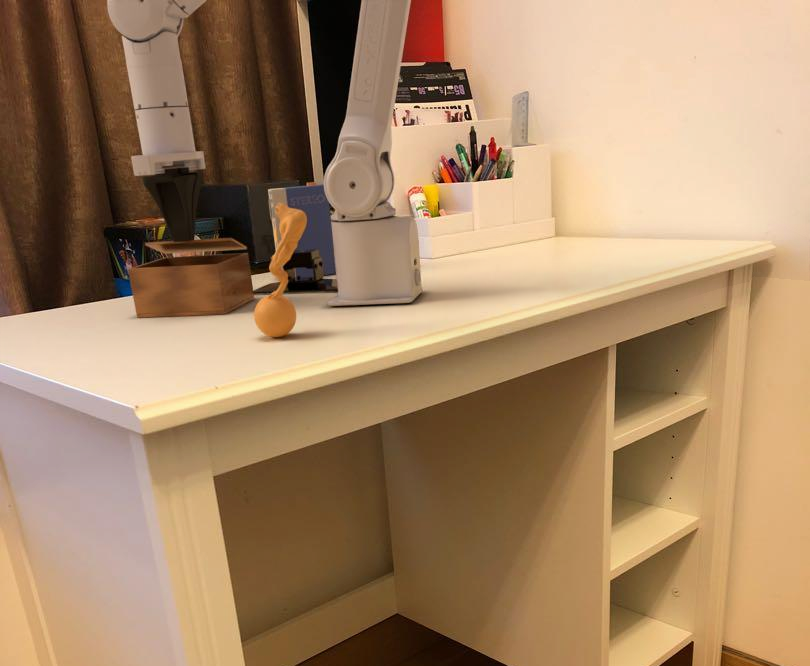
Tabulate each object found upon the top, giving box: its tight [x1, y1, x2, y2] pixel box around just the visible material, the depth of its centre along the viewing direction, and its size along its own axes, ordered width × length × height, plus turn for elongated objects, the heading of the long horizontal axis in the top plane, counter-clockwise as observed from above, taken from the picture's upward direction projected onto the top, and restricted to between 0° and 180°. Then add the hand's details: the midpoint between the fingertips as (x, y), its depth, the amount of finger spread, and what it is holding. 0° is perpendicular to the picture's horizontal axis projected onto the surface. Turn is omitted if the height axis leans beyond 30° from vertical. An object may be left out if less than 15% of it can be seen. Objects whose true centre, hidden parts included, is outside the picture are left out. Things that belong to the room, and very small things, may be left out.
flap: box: [144, 237, 248, 255], centre depth 103 cm, size 11×5×1 cm, turn 79°
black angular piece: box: [253, 249, 338, 295], centre depth 111 cm, size 12×7×5 cm, turn 76°
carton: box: [127, 252, 255, 319], centre depth 103 cm, size 11×10×5 cm
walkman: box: [267, 181, 336, 277], centre depth 120 cm, size 8×3×12 cm, turn 112°
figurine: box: [253, 203, 307, 338], centre depth 82 cm, size 8×6×12 cm
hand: (183, 241), depth 100 cm, fingers closed
